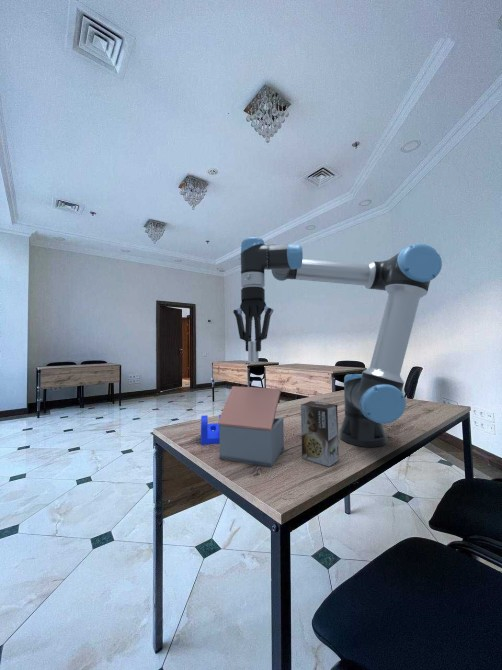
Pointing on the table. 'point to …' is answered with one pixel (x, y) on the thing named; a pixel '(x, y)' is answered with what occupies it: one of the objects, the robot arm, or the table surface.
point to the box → (252, 444)
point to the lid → (250, 408)
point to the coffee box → (319, 432)
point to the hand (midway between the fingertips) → (253, 361)
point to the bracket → (209, 432)
